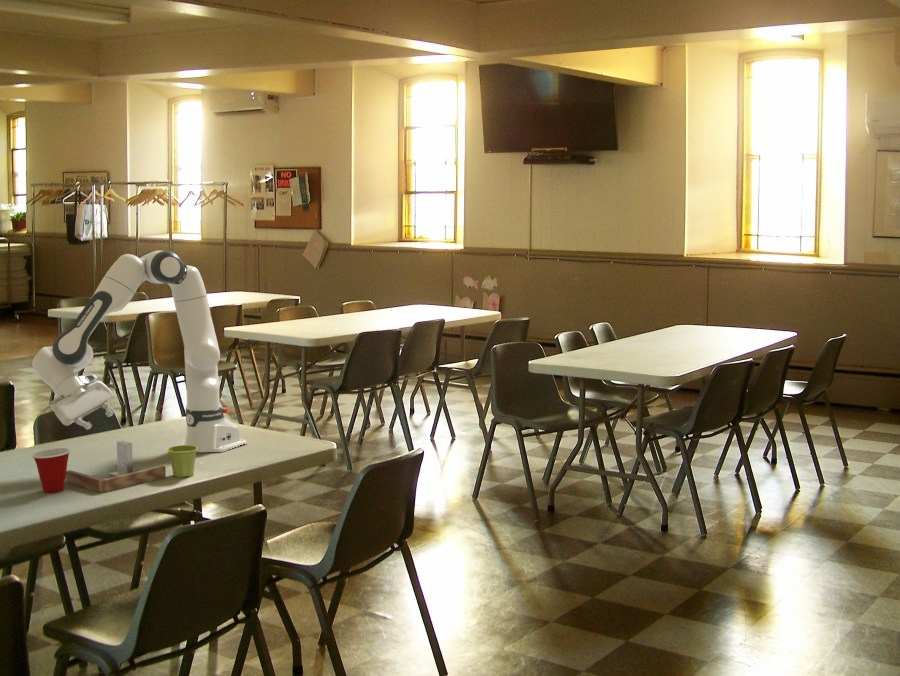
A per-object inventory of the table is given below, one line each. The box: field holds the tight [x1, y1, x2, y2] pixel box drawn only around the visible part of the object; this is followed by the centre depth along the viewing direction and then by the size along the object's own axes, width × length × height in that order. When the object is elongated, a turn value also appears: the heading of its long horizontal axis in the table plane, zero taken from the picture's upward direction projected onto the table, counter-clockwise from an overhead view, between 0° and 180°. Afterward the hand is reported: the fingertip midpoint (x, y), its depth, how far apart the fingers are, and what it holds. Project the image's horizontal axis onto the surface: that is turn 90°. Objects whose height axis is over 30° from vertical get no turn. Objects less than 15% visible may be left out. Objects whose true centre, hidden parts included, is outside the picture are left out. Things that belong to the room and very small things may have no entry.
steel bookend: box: [109, 440, 134, 478], centre depth 333 cm, size 5×5×11 cm
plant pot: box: [166, 444, 198, 479], centre depth 338 cm, size 9×9×9 cm
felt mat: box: [92, 468, 141, 479], centre depth 334 cm, size 20×16×1 cm
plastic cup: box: [31, 447, 71, 494], centre depth 320 cm, size 11×11×12 cm
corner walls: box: [65, 465, 167, 493], centre depth 332 cm, size 23×19×4 cm
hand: (100, 421), depth 343 cm, fingers open, 8 cm apart
